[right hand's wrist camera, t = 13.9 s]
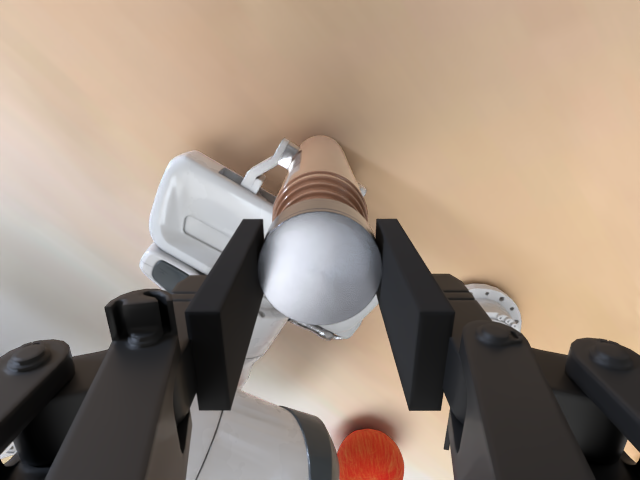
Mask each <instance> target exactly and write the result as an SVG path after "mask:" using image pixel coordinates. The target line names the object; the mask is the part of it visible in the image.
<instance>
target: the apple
mask: <svg viewBox="0 0 640 480" xmlns="http://www.w3.org/2000/svg"><path fill="white" fill-rule="evenodd" d="M337 456H338V461H339V467H340V477H339V480H403V476H404V462H403V458H402V455H401V452H400V450H399V448H398V446H397V445H396V444H395V442H394V441H393V440H392V439H391V438H390V437H388V436H387V435H386V434H384V433H383V432H381V431H378V430H374V429H361V430H356V431H354V432H352V433H351V434H349V435H348V436H347V437H346V438H345V439H344V441H343V442H342V444H341V446H340V447H339V450H338V452H337Z"/></svg>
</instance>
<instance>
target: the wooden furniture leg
mask: <svg viewBox="0 0 640 480" xmlns="http://www.w3.org/2000/svg"><path fill="white" fill-rule="evenodd" d="M299 147H300V149H299V151H298V153H297V155H296V156H295V157H294V158H293V161H292V163H291V165H290V168H289V170H288V172H287V174H286V177H285V179H284V181H283V184H282V186H281V188H280V190H279V193H278V195H277V197H276V200H275V202H274V206H273V211H272V222H273V221H274V220H275V218H276V217H277V216H278V215H279V214H280V213H281V212H282V211H284V210H285V209H286V208H288V207H290V206H291V205H293V204H295V203H298V202H301V201H304V200H308V199H316V198H325V199H332V200H336V201H339V202H342V203H344V204H347V205H348V206H350V207H352V208H353V209H355V210H356V211H357V212H359V213H360V214H361V215H362V216H363V217H364V218H365V220H366V221H367V223H368V211H367V206H366V203H365V200H364V197H363V195H362V193H361V190H360V188H359V186H358V184H357V181H356V179H355V177H354V174H353V172H352V170H351V167H350V165H349V163H348V161H347V158H346V156H345V154H344V151H343V149H342V147H341V146H340V145H339V143H338V142H337V141H335V140H334V139H332V138H330V137H328V136H323V135H317V136H312V137H310V138H308V139H306V140H305V141H304V142H302V143H301V145H300V146H299Z"/></svg>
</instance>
